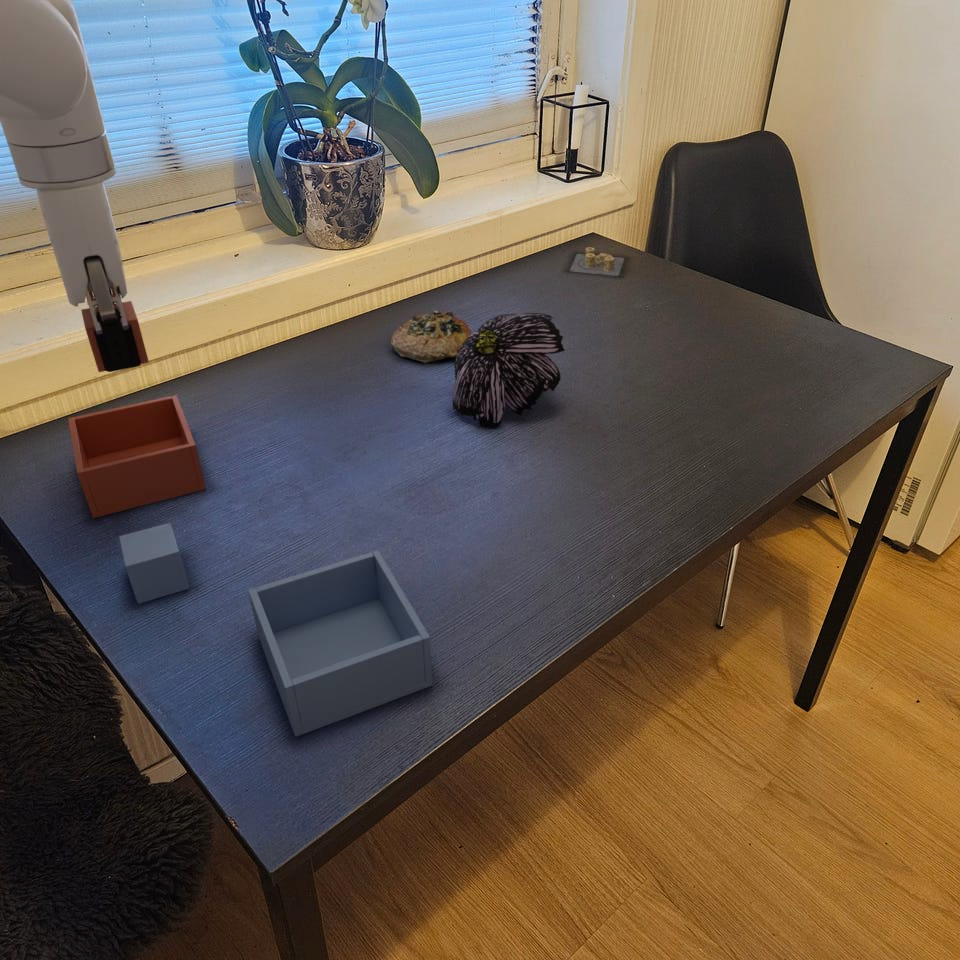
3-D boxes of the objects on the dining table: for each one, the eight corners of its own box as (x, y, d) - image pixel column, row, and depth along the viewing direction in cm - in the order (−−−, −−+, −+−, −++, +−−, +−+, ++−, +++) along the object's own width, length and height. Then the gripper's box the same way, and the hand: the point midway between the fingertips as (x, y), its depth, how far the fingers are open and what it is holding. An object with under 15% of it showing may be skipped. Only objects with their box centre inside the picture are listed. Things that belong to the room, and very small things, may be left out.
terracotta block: (98, 372, 77) (85, 328, 75) (94, 352, 81) (80, 309, 78) (149, 362, 79) (137, 319, 76) (142, 343, 82) (131, 300, 80)
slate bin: (295, 737, 62) (284, 688, 59) (258, 637, 71) (247, 589, 67) (432, 685, 66) (430, 636, 63) (383, 597, 74) (378, 549, 71)
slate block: (137, 604, 74) (125, 566, 71) (131, 573, 77) (118, 536, 74) (189, 588, 75) (179, 551, 73) (181, 559, 79) (170, 522, 76)
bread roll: (444, 318, 120) (445, 288, 117) (488, 357, 114) (490, 326, 110) (377, 341, 115) (375, 310, 112) (419, 383, 109) (419, 352, 105)
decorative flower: (418, 313, 99) (536, 270, 99) (442, 376, 109) (550, 337, 109) (447, 400, 91) (576, 352, 91) (471, 460, 100) (588, 417, 100)
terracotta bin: (93, 518, 84) (77, 473, 80) (82, 461, 92) (68, 418, 88) (206, 489, 88) (195, 444, 84) (187, 436, 96) (176, 394, 92)
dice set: (612, 272, 135) (613, 260, 134) (580, 268, 136) (581, 257, 135) (616, 260, 139) (617, 249, 138) (585, 257, 140) (586, 246, 139)
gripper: (11, 139, 74) (71, 328, 85) (17, 193, 62) (86, 406, 72) (101, 130, 76) (148, 314, 87) (123, 180, 64) (175, 387, 75)
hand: (119, 354), depth 80 cm, fingers closed on terracotta block, 4 cm apart
